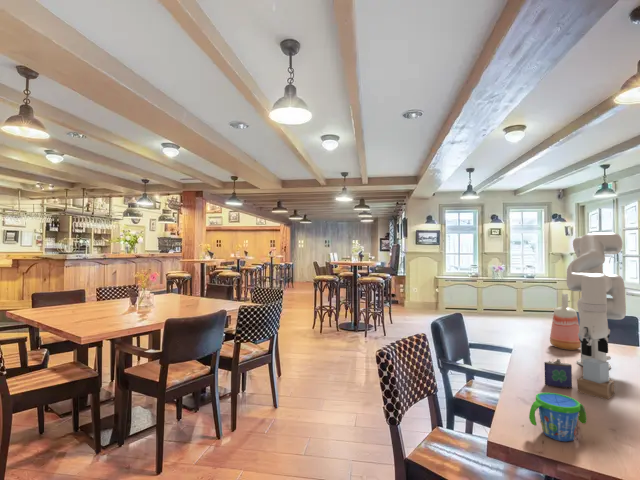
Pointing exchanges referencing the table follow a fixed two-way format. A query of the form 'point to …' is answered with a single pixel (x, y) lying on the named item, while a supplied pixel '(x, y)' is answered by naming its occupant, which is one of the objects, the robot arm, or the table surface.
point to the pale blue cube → (596, 370)
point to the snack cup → (558, 415)
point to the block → (596, 388)
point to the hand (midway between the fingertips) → (594, 353)
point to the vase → (565, 327)
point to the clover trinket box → (558, 374)
